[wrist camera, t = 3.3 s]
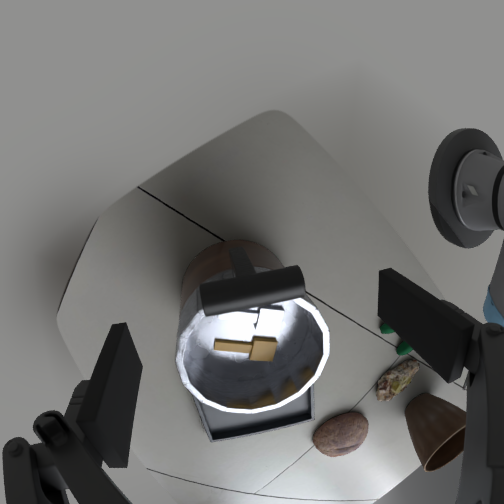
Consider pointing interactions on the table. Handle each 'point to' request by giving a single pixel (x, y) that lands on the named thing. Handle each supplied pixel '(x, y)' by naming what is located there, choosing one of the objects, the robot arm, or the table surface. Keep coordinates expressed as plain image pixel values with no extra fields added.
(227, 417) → the tray
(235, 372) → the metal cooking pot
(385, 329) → the gaming controller
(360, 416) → the decorative stone
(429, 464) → the flower pot
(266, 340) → the brass key
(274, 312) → the silver key
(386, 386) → the mineral rock
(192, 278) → the stand
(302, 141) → the table surface
